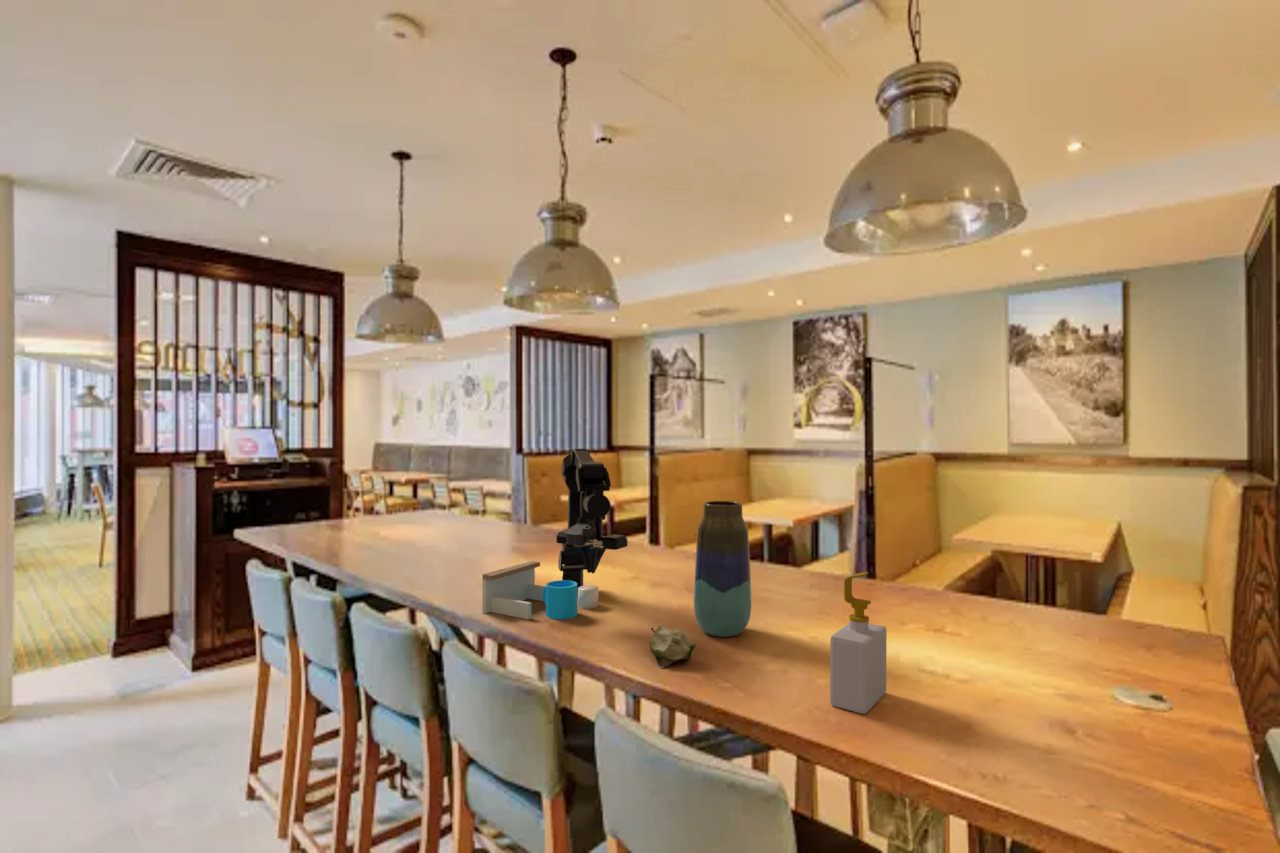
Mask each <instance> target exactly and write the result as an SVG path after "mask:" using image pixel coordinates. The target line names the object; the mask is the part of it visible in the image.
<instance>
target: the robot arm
mask: <svg viewBox="0 0 1280 853" xmlns="http://www.w3.org/2000/svg"><path fill="white" fill-rule="evenodd" d="M560 472H561V477H563V482H564V483H565V485H566V487H567V488H568V493H567V496H568V497H567V501H568V502H567V529H565V530H561V531H558V532H557V534H556V540H555V542H556V544H561V550H559V555H558V561H557V564H558V569H559V571H560V572H562V577H561V578H562V579H561V580H567V581H574V582H576V583H577V593H578V587H580V586H584V570H585V571H586V572H587V573H588V574H589V573H590V574H595V573H596V570H597V568H598V566H599V563H600V562H601V560H602V557H603V556H604V554H605V552H606V550H610V551H611V550H612V551H614V550H615V551H617V550H619V549H623V548H626V547H628V538H627V537H626V535H625V534H624V535H623V534H610V535H607V536H606V531H605V530H603V521H604V520H606V516H607V515H608V513H609V512H610V510H611V502H610V499H609V498H608V497H607V496H606V495H604V492H609V491H610V488H611V485H612V484H611V479H610V474H609V473H610V472H609V471H608V469H607V467H605V465H604V463H603V462H601V461H595V460H594V459H593V457H592V455H591V453H590V449H587V448H573V449H571V450H570V453H569V454H568V455H566V456H565V457H563V459H562V463H561V467H560Z"/></svg>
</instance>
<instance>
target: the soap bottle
mask: <svg viewBox="0 0 1280 853" xmlns="http://www.w3.org/2000/svg"><path fill="white" fill-rule="evenodd" d="M868 574H869V572H868V571H864V572H858V573H854V574H852V575H850V576H848V577H846V578H845V579H844V584H843V586H844V588H843V589H844V593H843V594H844V595H843V597H844V601H845V602H846V603H848V604H850V608H852V609H854V611H853V613H851V614H849V617H848V618H849V619H848V620H849V623H848V624H846V625H845V626H843V627H842V628H840V629H839V630H837V631H836V632H835V633H833V634H832V635H831V637H830V640H829V641H830V642H829V643H830V644H829V646H830V648H829V649H830V653H829V654H830V658H829V661H830V662H829V663H830V664H829V665H830V667H829V668H830V670H829V671H830V673H829V674H830V675H829V676H830V680H829V684H830V685H829V689H830V691H829V692H830V693H829V694H830V695H829V697H830V698H829V699H830V701H829V702H830V705H831V706H833V707H837V708H840V709H843V710H848V711H850V712H855V713H858V714H862V715H865V714H868V713H869V711H870V710H871V709H872V708H873V707H874V706H875V705H876V704H877V703H878V702H879V701H880V700H881V699H882V697H883V696H885V694H886V692H887V627H886V626H884V625H881V624H880V625H879V624H874V623H869V622H870V616H868V615H866V614H865V610H868V606H869V605H870V604H871V603H872V601H871V600H869V599H862V598H857V597H854V596H853V579H856V578H857V579H858V578H862V577H865V576H867V575H868Z"/></svg>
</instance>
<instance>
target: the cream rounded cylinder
mask: <svg viewBox="0 0 1280 853" xmlns="http://www.w3.org/2000/svg"><path fill="white" fill-rule="evenodd" d="M598 607H599V586H597V585H592V584H591V585H588V584H587V585H583V586H580V587H578V592H577V608H580V609H585V610H587V609H597V608H598Z"/></svg>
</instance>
